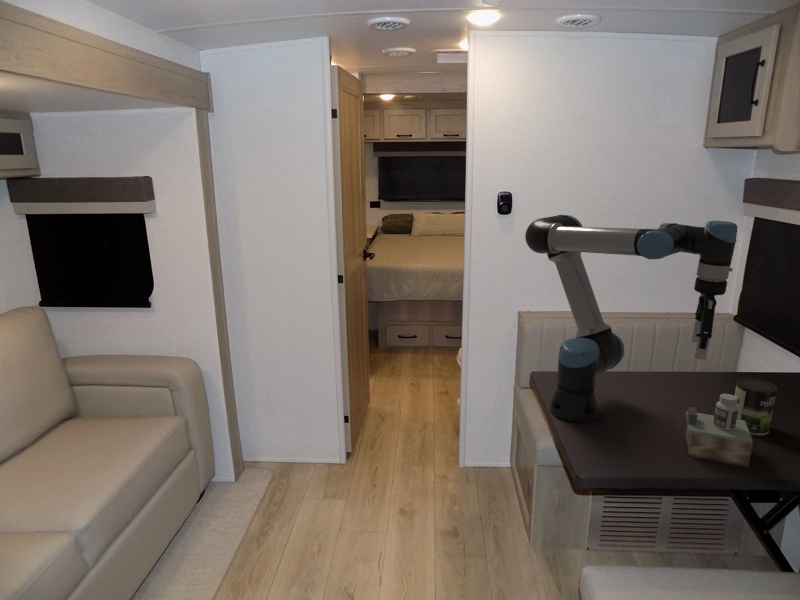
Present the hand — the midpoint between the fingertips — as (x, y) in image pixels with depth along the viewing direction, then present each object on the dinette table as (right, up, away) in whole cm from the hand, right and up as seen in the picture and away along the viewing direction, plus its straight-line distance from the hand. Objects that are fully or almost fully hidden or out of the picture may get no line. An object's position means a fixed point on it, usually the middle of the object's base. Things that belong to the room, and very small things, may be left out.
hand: (697, 350), depth 149 cm
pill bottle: (+4, -21, -5) cm, 22 cm away
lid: (+3, -21, -5) cm, 22 cm away
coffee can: (+21, -24, +10) cm, 34 cm away
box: (+3, -28, -3) cm, 28 cm away
